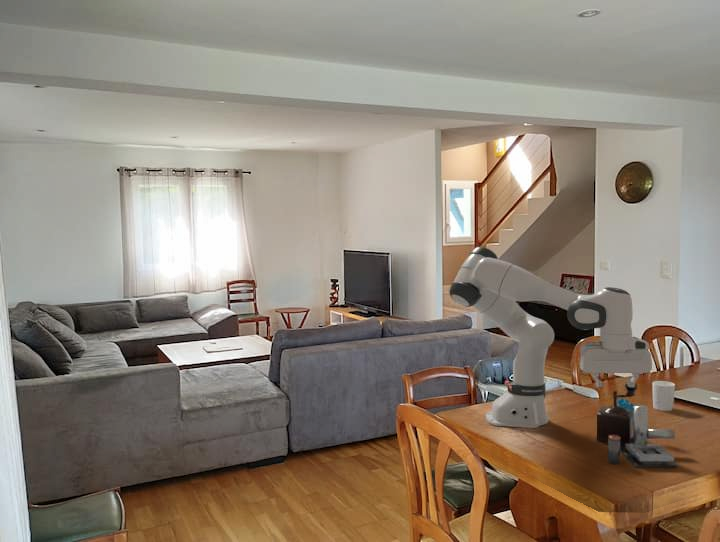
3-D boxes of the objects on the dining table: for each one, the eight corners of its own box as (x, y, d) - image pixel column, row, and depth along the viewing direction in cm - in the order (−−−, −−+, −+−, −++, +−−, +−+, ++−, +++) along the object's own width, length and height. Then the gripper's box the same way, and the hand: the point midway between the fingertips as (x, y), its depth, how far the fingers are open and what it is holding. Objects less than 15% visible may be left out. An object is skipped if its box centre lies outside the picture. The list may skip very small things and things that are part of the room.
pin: (610, 464, 180) (610, 438, 180) (606, 459, 184) (606, 434, 183) (621, 464, 180) (622, 438, 179) (617, 459, 183) (617, 434, 183)
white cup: (652, 410, 230) (653, 385, 230) (650, 404, 238) (651, 380, 237) (675, 412, 227) (676, 387, 227) (673, 406, 235) (673, 381, 234)
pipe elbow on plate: (635, 467, 178) (636, 419, 176) (615, 447, 193) (616, 402, 192) (691, 467, 177) (692, 419, 176) (666, 447, 193) (667, 402, 191)
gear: (630, 421, 213) (615, 397, 219) (619, 430, 216) (603, 406, 222) (648, 420, 219) (632, 396, 225) (636, 428, 222) (621, 404, 228)
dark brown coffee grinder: (631, 447, 194) (633, 392, 192) (595, 441, 199) (596, 388, 198) (637, 432, 207) (638, 381, 206) (603, 427, 213) (604, 377, 211)
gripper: (583, 344, 176) (583, 390, 177) (654, 343, 175) (653, 389, 176) (577, 340, 183) (576, 384, 184) (645, 339, 181) (644, 384, 183)
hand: (615, 387), depth 180 cm, fingers open, 8 cm apart
